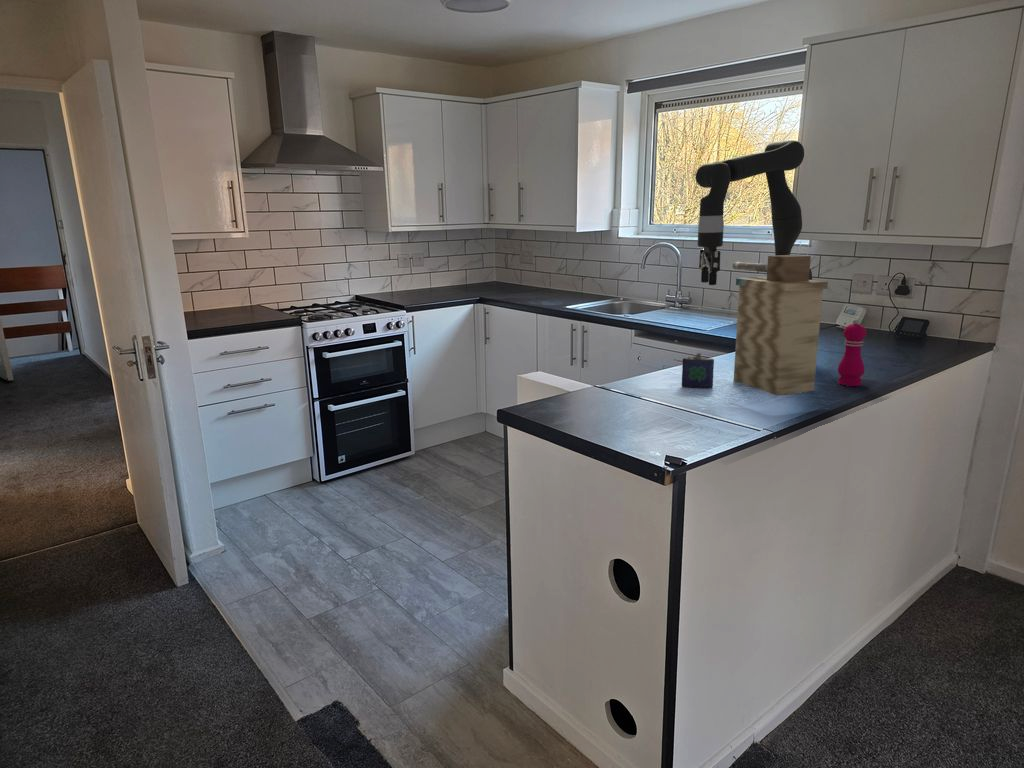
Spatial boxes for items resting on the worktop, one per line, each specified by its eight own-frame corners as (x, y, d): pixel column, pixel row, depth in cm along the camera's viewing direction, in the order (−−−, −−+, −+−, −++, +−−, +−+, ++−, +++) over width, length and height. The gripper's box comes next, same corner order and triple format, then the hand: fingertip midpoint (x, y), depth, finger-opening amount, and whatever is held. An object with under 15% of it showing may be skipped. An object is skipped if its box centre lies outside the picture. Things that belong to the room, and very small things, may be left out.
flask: (712, 386, 200) (714, 352, 198) (713, 389, 197) (714, 354, 195) (681, 385, 202) (682, 351, 200) (681, 388, 199) (682, 353, 197)
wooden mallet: (724, 275, 210) (725, 253, 208) (745, 274, 212) (746, 252, 210) (785, 282, 184) (787, 257, 182) (808, 281, 186) (810, 256, 185)
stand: (730, 380, 207) (736, 278, 200) (767, 375, 212) (774, 276, 204) (778, 396, 187) (786, 284, 179) (817, 391, 191) (827, 281, 183)
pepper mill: (830, 382, 201) (837, 318, 196) (848, 380, 204) (855, 316, 199) (850, 388, 194) (857, 321, 190) (868, 385, 197) (875, 319, 192)
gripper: (730, 231, 195) (727, 285, 199) (716, 230, 209) (713, 281, 213) (705, 231, 196) (702, 286, 200) (692, 230, 209) (690, 281, 213)
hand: (708, 283), depth 206 cm, fingers open, 8 cm apart
